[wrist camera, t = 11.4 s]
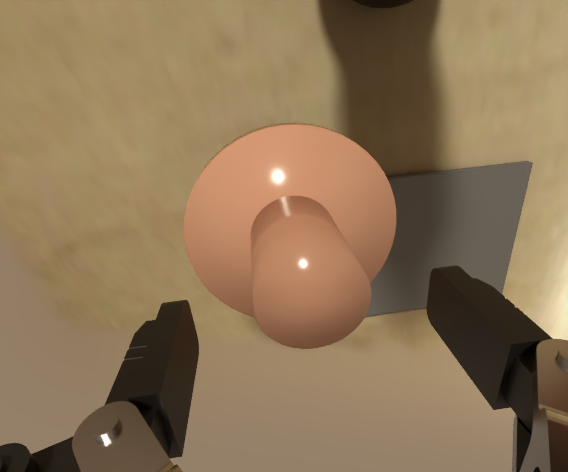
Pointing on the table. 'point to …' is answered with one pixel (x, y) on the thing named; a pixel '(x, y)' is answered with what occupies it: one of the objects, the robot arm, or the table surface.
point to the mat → (450, 230)
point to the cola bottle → (382, 3)
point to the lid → (292, 231)
